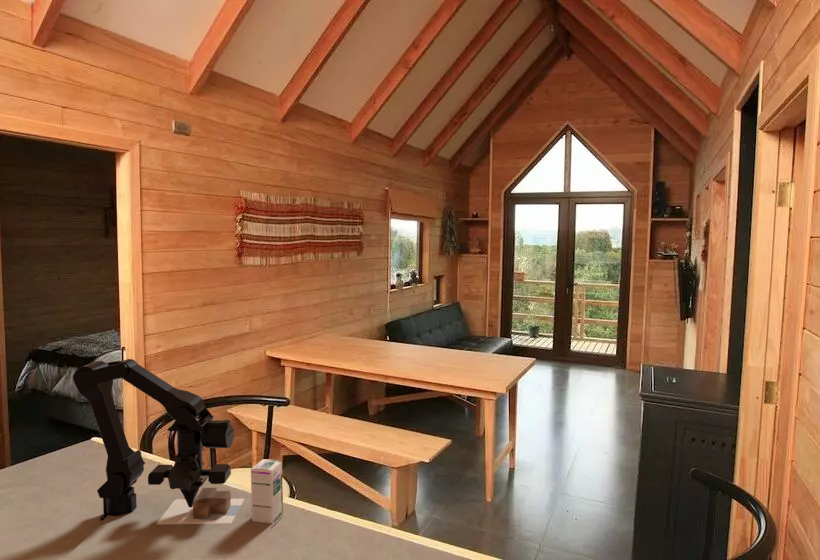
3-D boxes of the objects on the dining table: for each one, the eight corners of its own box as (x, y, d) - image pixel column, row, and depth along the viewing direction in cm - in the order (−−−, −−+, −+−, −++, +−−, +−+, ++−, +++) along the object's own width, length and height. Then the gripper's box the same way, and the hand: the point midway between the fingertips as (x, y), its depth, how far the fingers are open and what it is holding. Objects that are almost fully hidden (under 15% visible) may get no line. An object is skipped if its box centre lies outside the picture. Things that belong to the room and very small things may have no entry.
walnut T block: (193, 518, 129) (192, 503, 128) (203, 502, 136) (202, 487, 136) (224, 517, 129) (224, 502, 129) (232, 501, 137) (232, 487, 137)
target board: (155, 528, 126) (155, 524, 126) (175, 503, 138) (175, 499, 138) (231, 527, 127) (231, 523, 127) (244, 502, 139) (244, 498, 139)
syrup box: (273, 527, 127) (272, 470, 126) (250, 524, 128) (250, 467, 127) (283, 515, 133) (283, 460, 131) (262, 512, 134) (261, 458, 133)
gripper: (136, 460, 122) (138, 524, 124) (217, 460, 123) (218, 523, 125) (157, 442, 133) (158, 501, 135) (231, 441, 134) (231, 500, 136)
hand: (191, 506), depth 132 cm, fingers closed
